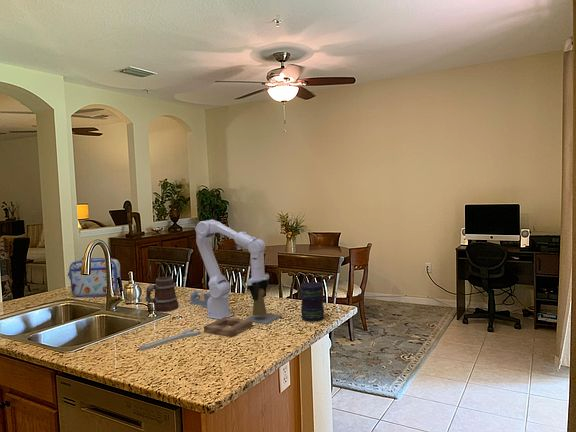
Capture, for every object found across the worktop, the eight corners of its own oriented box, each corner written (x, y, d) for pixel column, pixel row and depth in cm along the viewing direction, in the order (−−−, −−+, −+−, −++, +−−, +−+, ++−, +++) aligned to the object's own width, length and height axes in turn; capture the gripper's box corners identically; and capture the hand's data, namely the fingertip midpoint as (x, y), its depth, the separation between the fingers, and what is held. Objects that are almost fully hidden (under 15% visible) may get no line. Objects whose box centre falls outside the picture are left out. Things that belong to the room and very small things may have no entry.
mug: (171, 303, 219) (169, 274, 218) (182, 308, 210) (181, 278, 209) (141, 310, 209) (139, 280, 208) (152, 315, 200) (150, 283, 199)
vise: (221, 304, 216) (221, 291, 215) (204, 308, 208) (204, 295, 208) (201, 298, 228) (200, 286, 228) (184, 302, 221) (183, 290, 220)
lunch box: (66, 298, 237) (63, 259, 236) (74, 294, 248) (72, 256, 246) (117, 296, 239) (114, 257, 237) (123, 292, 249) (121, 254, 248)
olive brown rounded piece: (252, 312, 190) (250, 287, 189) (265, 311, 191) (264, 286, 190) (253, 316, 184) (251, 290, 183) (267, 314, 185) (265, 289, 184)
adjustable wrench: (141, 352, 155) (140, 348, 155) (134, 348, 160) (133, 343, 160) (202, 335, 171) (202, 330, 171) (194, 331, 176) (194, 327, 176)
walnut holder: (204, 332, 173) (203, 326, 173) (225, 322, 185) (225, 316, 185) (232, 337, 166) (231, 331, 166) (252, 326, 178) (252, 320, 178)
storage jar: (309, 313, 194) (308, 281, 193) (328, 317, 188) (327, 283, 187) (297, 319, 186) (295, 285, 185) (316, 323, 180) (315, 288, 179)
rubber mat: (243, 320, 187) (243, 319, 187) (258, 313, 197) (258, 312, 197) (267, 324, 181) (267, 323, 181) (281, 316, 191) (281, 315, 191)
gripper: (255, 271, 178) (257, 303, 179) (274, 265, 190) (275, 295, 191) (242, 270, 181) (243, 301, 182) (261, 264, 194) (262, 293, 195)
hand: (258, 298), depth 187 cm, fingers closed on olive brown rounded piece, 5 cm apart
